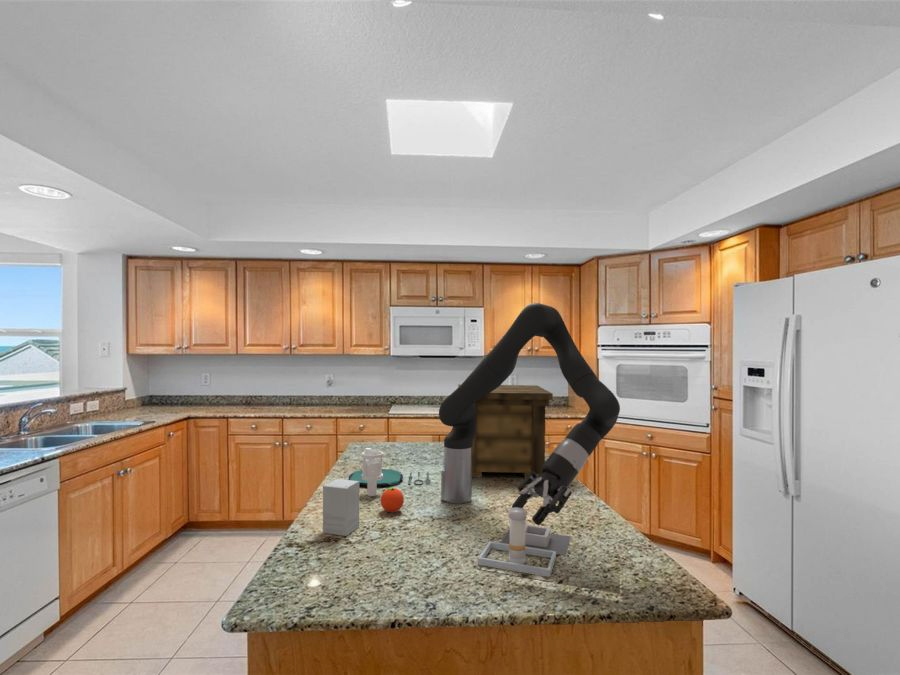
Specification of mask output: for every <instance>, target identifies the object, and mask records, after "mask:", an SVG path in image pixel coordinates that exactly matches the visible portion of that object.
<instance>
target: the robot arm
mask: <svg viewBox="0 0 900 675" xmlns="http://www.w3.org/2000/svg"><path fill="white" fill-rule="evenodd" d="M534 337H540V338H544V339H545V340H546V341H547V342H548V344H549V345H550V346H551V347H552V348H553V350H554V351H555V354H556V356H557V359H558V364H559V368H560V371H561V373H562V375H563V377H564V379H565V381H566V382H567V383H568V385H569V386H570V388H571V389H572V391H573V393H575V395H576V396H577V397H579V398H581V399H583V400H584V401H585V403H586V404H587V406H588V408H589V410H588V413H587V414H586V415H585V417H584V418H583V419H582V420H581V422H579V423H576V424H575V425H574V426H573V427H572V429H570V431H569V432H568V433H567V435H566V436H565V437H564V438H563V440H562V441H561V442H559V443H558V444H557V446H556V447H555V449H553V451H552V453H551V454H550V455H549V456H548V457H547V459H545V463H544V464H543V465H542V469H543V472H542V473H541V474H536V473H535V472H534V471H532V472H531V473H530V474H529V475H528V476H527V477H526V478H524V480H523V481H522V482H521V483H520V484H519V486H518V487H517V490H518V492H519V495H518V497H517V498H516V500H515V501H514V502H512V503H513V504H512V506H511V508H514V507H518V508H523V509H524V507H525V505H526V504H527V503H528V501H529V500H531V499H532V498H538V497H540V498H543V501H542V502H543V503H542V505H540V507H539V508H538V510H537V511H536V512H535V513H534V515H533V516H532V517H531V521H532V522H534V524H535V525H536V526H540V525H541V524H543V523H544V521H545V520H546V518H547V517H548V516H549V514H551V513H555V514H559V513H560V512H561V511H562V509H563V507H564V506H565V504H566V503H567V501H568V500H569V498H570V497H571V495H572V494H573V493H572V491H571V490H570V489H569V486H570V485H571V483H572V482H573V481H574V479H575V478H576V476H578V474H579V473H580V471H581V470H582V469H583V467H584V466H585V464H586V463H587V461H588V459H589V457H590V456H591V454H592V453H594V451H595V449H596V448H597V447H598V444H599V443H600V441H601V440H603V439H604V438H605V436H606V435H608V434H609V433H610V431H611V430H612V429H613V428H614V426H615V425H616V423H617V421H618V418H619V414H620V411H621V406H620V403H619V400H618V398H617V397H616V395H615V394H614V393H613V392H612V391H611V390H610V388H608V386H606V385H605V383H603V382H602V381H601V380H600V379H599V377H598V376H597V375H596V373H595V372H594V371H593V369H592V368H591V367H590V365H589V364H588V362H587V361H586V359H585V358H584V356H583V355H582V353H581V352H580V351H579V350H580V349H579V348H578V347H577V344H576V343H575V342H574V339H573V337H572V336H571V334H570V332H569V330H568V328H567V326H566V324H565V321H564V319H563V317H562V316H561V313H560V312H559V310H557V309H556V308H555V307H552V306H550V305H547V304H543V303H540V302H532V303H529V304H528V305H526V306H525V307H524V308H523V309H522V310H521V311H520V313H519V314H518V316H517V317H516V318H515V320H514V321H513V323H512V324H511V326H510V327H509V328H508V330H507V331H506V332H505V334H504V335H503V336H502V337H501V338H500V340H499V341H498V342H497V343H496V344H495V346H494V347H493V348H492V349H491V350H490V351H489V352H488V353H487V355H485V356H484V358H483V359H481V361H480V362H479V364H478V365H477V366H476V367H475V369H474V370H472V372H471V373H470V374H469V375H468V376H467V377H466V379H465V380H464V381H462V383H461V385H460V386H459V387H458V386H457V388H456V389H455V390H453V392H451V394H450V395H448V396H447V397H446V398H445V399H444V400H442V402H441V404H440V406H439V409H438V417H439V420H440V422H441V423H442V424H443V425H445V426H447V427H452V428H451V430H450V432H449V433H448V434H447V435H446V436H445V437H444V439H443V469H442V470H441V472H440V473H441V474H440V476H441V479H440V480H441V483H440V486H441V488H440V489H441V491H440V493H441V494H440V500H441V501H445V502H447V503H451V504H465V503H469V502H471V501H472V489H473V487H472V486H473V484H472V483H473V479H472V478H473V477H472V442H473V439H474V436H475V424H476V409H475V405H474V403H475V402H476V401H477V400H479V399H480V398H482V397H484V396H485V395H487V394H489V393H490V392H492V391H493V390H495V389H496V388H497V387H499V386H500V385H503V383H504V382H505V381H506V380H507V379H508V378H509V377H510V376H511V375H512V373H513V372H514V370H515V368H516V364H517V361H518V357H519V354H520V352H521V350H522V349H523V348H524V347H525V346H526V345H527V344H528V343H529V342H530V341H531V340H532V339H533V338H534ZM557 503H558V504H557Z"/></svg>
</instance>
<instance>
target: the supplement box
mask: <svg viewBox="0 0 900 675" xmlns="http://www.w3.org/2000/svg"><path fill="white" fill-rule="evenodd" d="M359 527H360V484H359V481H352V480H349V479H341V478H336V479H334V480H332V481H330V482H328V483H326V484H323V485H322V533H323V534H329V535H335V536H336V535H337V536H341V537H342V536H344V537H347V536H348V535H349V534H351V533H353V532H354V531H356V530H357V529H359Z"/></svg>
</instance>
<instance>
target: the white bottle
mask: <svg viewBox="0 0 900 675" xmlns="http://www.w3.org/2000/svg"><path fill="white" fill-rule="evenodd" d="M508 518H509V528H510V539H509V551H508V552H509V554H508V558H507V560H508V562H511V563H518V564H524V565H525V563H527V554H525V545H526V544H525V525H526V520H527V510H526V508H524V507H523V508H518V507H514V508H512V507H511V508H509V509H508Z"/></svg>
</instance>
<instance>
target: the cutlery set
mask: <svg viewBox="0 0 900 675" xmlns="http://www.w3.org/2000/svg"><path fill="white" fill-rule="evenodd" d="M429 472H430V471H427V472H426V479H424V480H422V479H420V477H421V476H420V475H421V471H417V479H415V480H414V484H415V485H418V486H420V485H422V484H423V483H424V482H425V486H431V483H432V482H431V480H432V479H431V478H430V477H429ZM362 474H363V469H360V470H355V471H353V472H352V473H350V475H349V476H348V480H352V481H359V485H362V486H367V485H368V481H365V480H362ZM382 474H383V479H381V480H377V487H378V486H379V487H380V486H387V485H389V486H394V485H398V484H399V482H401V481H402V480H403V479H404V476H403V474H402V471H399V470H396V469H386V468H385V469H384V468H382ZM412 475H413V472H409V476H408V483H407V484H408V486H411V482H412V479H413V476H412ZM417 482H420V483H417Z"/></svg>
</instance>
